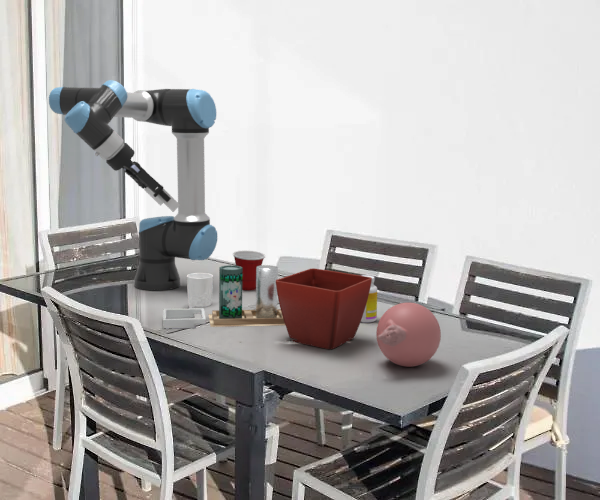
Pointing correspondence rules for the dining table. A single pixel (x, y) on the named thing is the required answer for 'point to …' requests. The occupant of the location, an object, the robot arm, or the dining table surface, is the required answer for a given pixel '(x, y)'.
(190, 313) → the frame
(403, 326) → the balloon
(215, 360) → the dining table surface
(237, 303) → the can
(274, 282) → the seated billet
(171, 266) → the robot arm
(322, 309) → the plant pot
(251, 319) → the wooden tray
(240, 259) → the plastic cup
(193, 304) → the white cup
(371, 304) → the supplement bottle
